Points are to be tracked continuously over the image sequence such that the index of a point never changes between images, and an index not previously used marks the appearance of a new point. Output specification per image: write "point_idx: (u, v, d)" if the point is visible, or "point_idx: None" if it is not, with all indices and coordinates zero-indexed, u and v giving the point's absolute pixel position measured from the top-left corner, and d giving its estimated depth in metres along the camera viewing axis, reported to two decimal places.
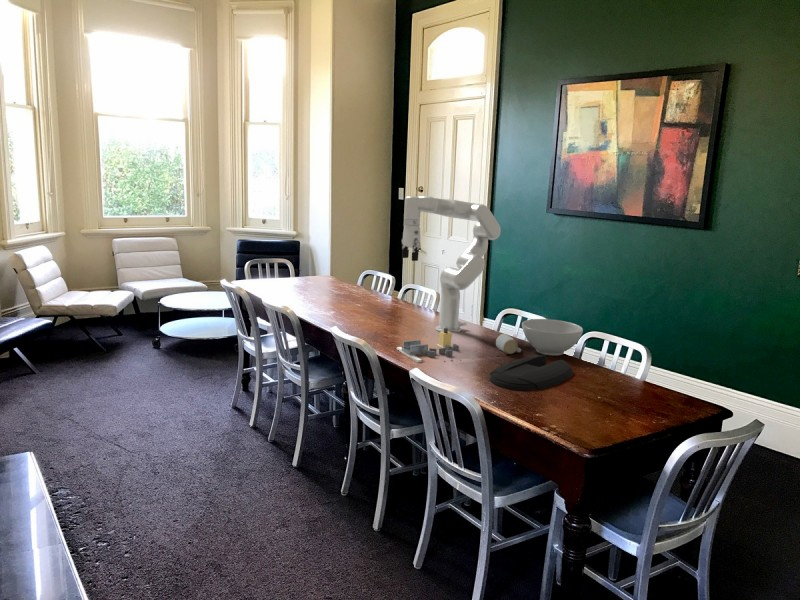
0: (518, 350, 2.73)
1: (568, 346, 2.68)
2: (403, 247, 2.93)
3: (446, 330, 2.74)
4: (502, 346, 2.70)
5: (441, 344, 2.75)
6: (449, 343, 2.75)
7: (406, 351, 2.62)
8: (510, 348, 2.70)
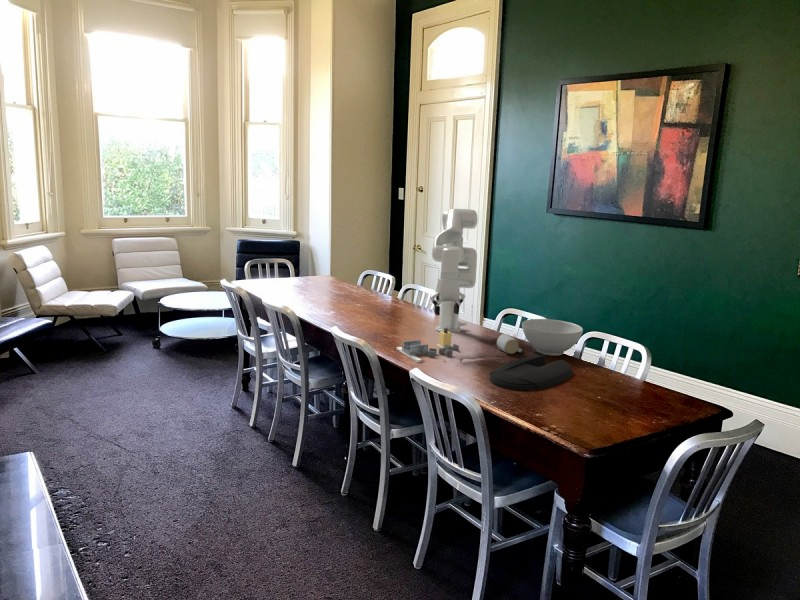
0: (519, 350, 2.73)
1: (568, 346, 2.68)
2: (439, 304, 2.69)
3: (446, 330, 2.74)
4: (503, 346, 2.70)
5: (441, 344, 2.75)
6: (449, 343, 2.75)
7: (406, 351, 2.62)
8: (511, 347, 2.70)
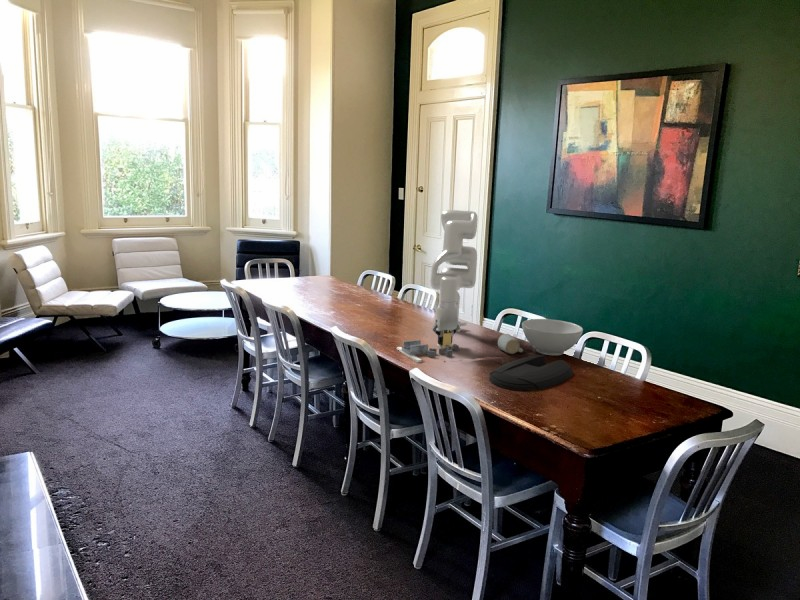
0: (520, 350, 2.73)
1: (568, 346, 2.68)
2: (442, 333, 2.73)
3: (446, 330, 2.74)
4: (504, 346, 2.70)
5: None
6: (449, 343, 2.75)
7: (406, 351, 2.62)
8: (512, 347, 2.70)
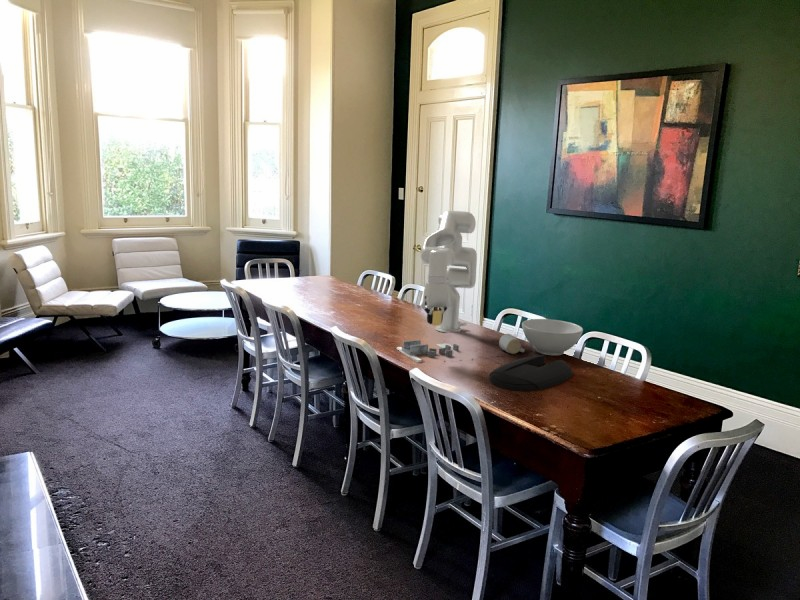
0: (521, 350, 2.73)
1: (568, 346, 2.68)
2: (431, 311, 2.54)
3: (436, 307, 2.55)
4: (505, 346, 2.71)
5: None
6: (439, 321, 2.56)
7: (406, 351, 2.62)
8: (514, 347, 2.70)
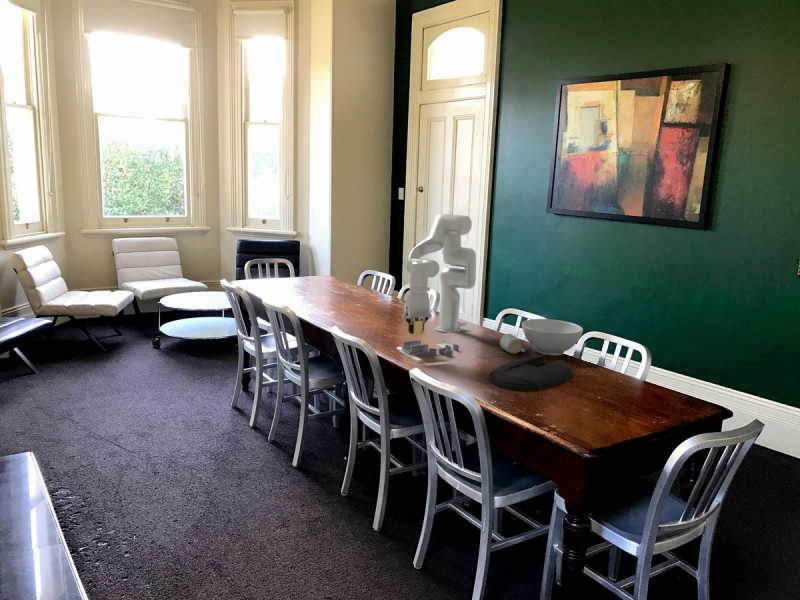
0: (522, 350, 2.73)
1: (568, 346, 2.68)
2: (412, 321, 2.59)
3: (417, 318, 2.60)
4: (506, 346, 2.71)
5: None
6: (420, 331, 2.61)
7: (406, 351, 2.62)
8: (514, 347, 2.70)
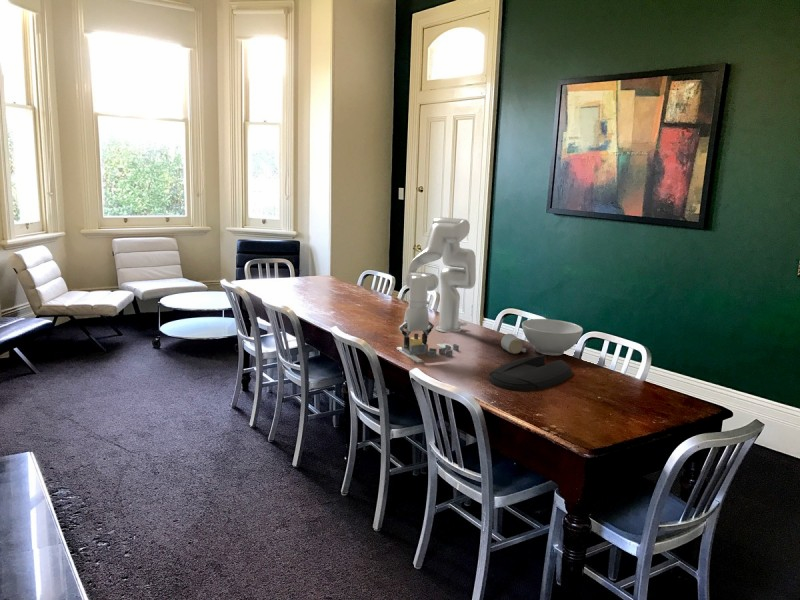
0: (523, 350, 2.73)
1: (568, 346, 2.68)
2: None
3: (416, 336, 2.62)
4: (507, 346, 2.71)
5: None
6: None
7: (406, 351, 2.62)
8: (515, 347, 2.71)
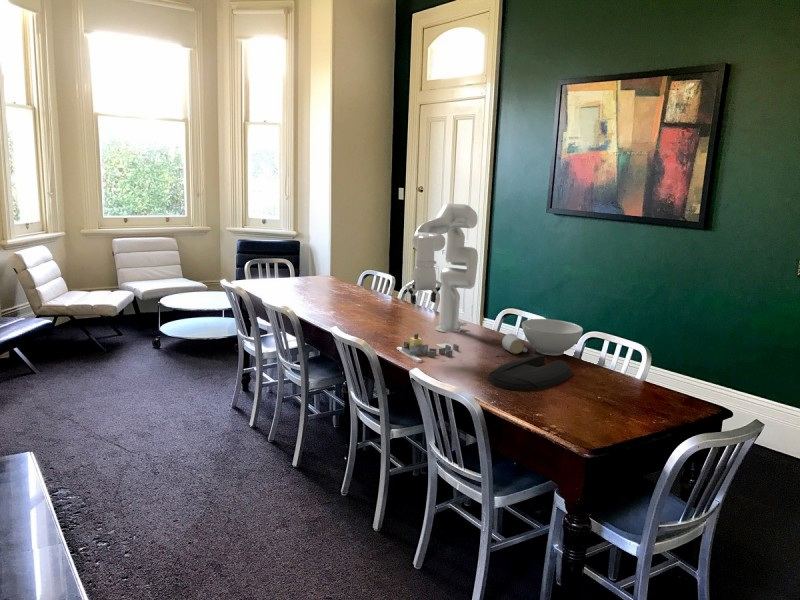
0: (524, 350, 2.73)
1: (568, 346, 2.68)
2: (415, 293, 2.63)
3: (416, 336, 2.62)
4: (508, 346, 2.71)
5: None
6: None
7: (406, 351, 2.62)
8: (517, 347, 2.71)
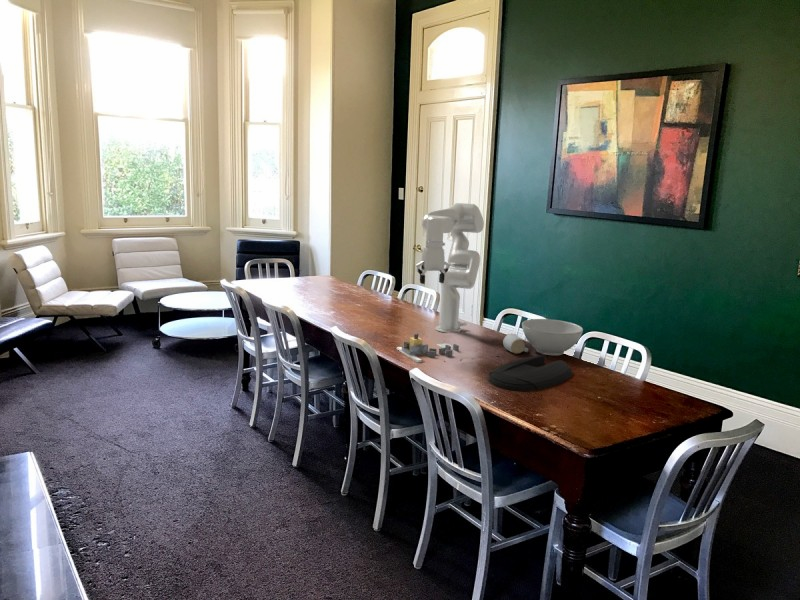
0: (525, 350, 2.74)
1: (568, 346, 2.68)
2: (424, 272, 2.72)
3: (416, 336, 2.62)
4: (509, 346, 2.71)
5: None
6: None
7: (406, 351, 2.62)
8: (518, 347, 2.71)
